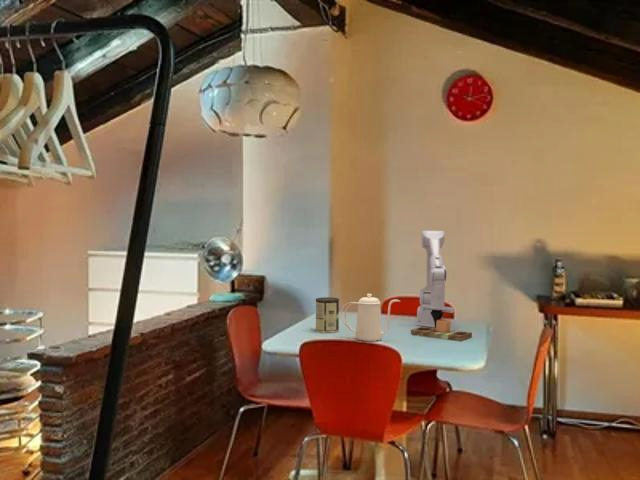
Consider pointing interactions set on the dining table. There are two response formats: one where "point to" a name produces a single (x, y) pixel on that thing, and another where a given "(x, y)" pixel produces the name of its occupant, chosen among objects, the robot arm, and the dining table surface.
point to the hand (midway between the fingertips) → (437, 328)
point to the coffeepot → (369, 319)
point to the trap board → (441, 334)
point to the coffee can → (327, 315)
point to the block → (443, 325)
